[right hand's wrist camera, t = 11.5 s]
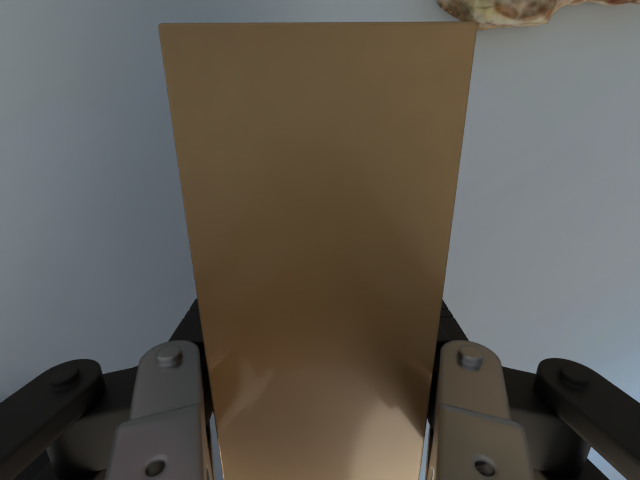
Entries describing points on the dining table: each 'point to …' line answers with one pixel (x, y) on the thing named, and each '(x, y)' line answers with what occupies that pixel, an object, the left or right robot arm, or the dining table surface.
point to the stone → (511, 11)
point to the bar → (319, 232)
